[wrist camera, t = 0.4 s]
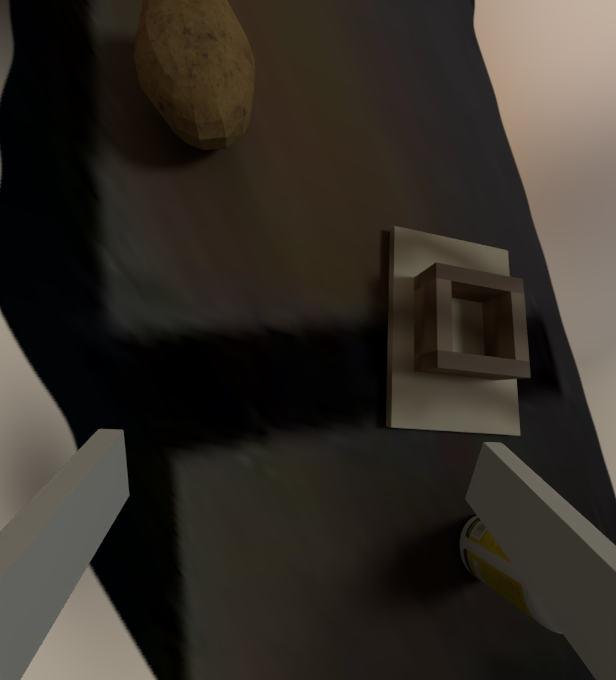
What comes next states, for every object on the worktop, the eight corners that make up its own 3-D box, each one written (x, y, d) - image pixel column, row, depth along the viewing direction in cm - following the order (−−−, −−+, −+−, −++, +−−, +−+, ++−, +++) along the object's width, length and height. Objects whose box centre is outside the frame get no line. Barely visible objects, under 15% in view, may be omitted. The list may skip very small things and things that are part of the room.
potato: (155, 181, 27) (125, 97, 20) (142, 51, 29) (111, -71, 22) (263, 182, 30) (273, 108, 22) (245, 62, 32) (248, -44, 24)
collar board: (511, 434, 31) (556, 440, 27) (386, 426, 28) (413, 431, 24) (500, 254, 35) (537, 234, 31) (389, 231, 32) (413, 205, 28)
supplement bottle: (501, 584, 28) (635, 678, 19) (451, 568, 27) (566, 658, 18) (511, 521, 29) (641, 579, 20) (463, 504, 28) (576, 556, 19)
